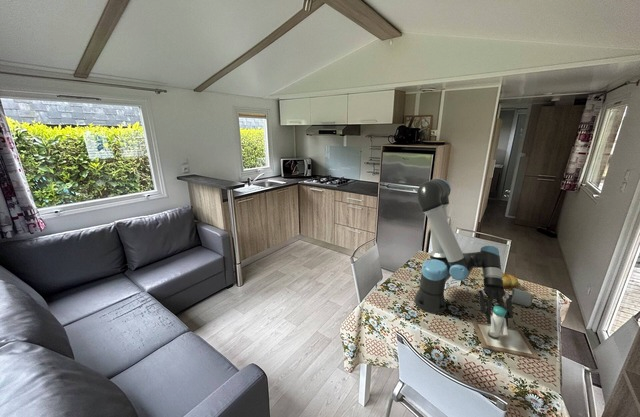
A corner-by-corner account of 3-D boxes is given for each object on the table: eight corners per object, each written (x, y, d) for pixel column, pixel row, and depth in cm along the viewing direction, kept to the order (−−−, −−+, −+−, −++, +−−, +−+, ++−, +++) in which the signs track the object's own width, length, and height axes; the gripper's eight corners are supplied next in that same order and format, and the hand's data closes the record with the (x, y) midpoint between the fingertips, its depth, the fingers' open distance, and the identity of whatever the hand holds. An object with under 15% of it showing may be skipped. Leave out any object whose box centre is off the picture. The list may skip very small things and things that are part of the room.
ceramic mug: (531, 310, 130) (534, 297, 128) (511, 304, 134) (514, 292, 132) (527, 299, 139) (530, 287, 137) (509, 294, 143) (512, 282, 141)
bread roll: (515, 283, 154) (518, 271, 151) (523, 292, 145) (526, 280, 142) (491, 280, 157) (494, 268, 155) (497, 288, 148) (500, 276, 146)
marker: (489, 338, 110) (496, 311, 106) (485, 331, 115) (492, 305, 110) (500, 340, 109) (508, 313, 105) (496, 333, 113) (504, 307, 109)
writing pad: (482, 348, 106) (483, 346, 106) (472, 322, 121) (472, 320, 121) (539, 359, 101) (539, 358, 101) (521, 331, 116) (521, 329, 116)
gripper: (510, 283, 119) (518, 338, 108) (469, 278, 123) (473, 330, 112) (518, 279, 112) (527, 337, 101) (474, 273, 117) (479, 328, 106)
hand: (498, 333), depth 107 cm, fingers closed on marker, 4 cm apart
